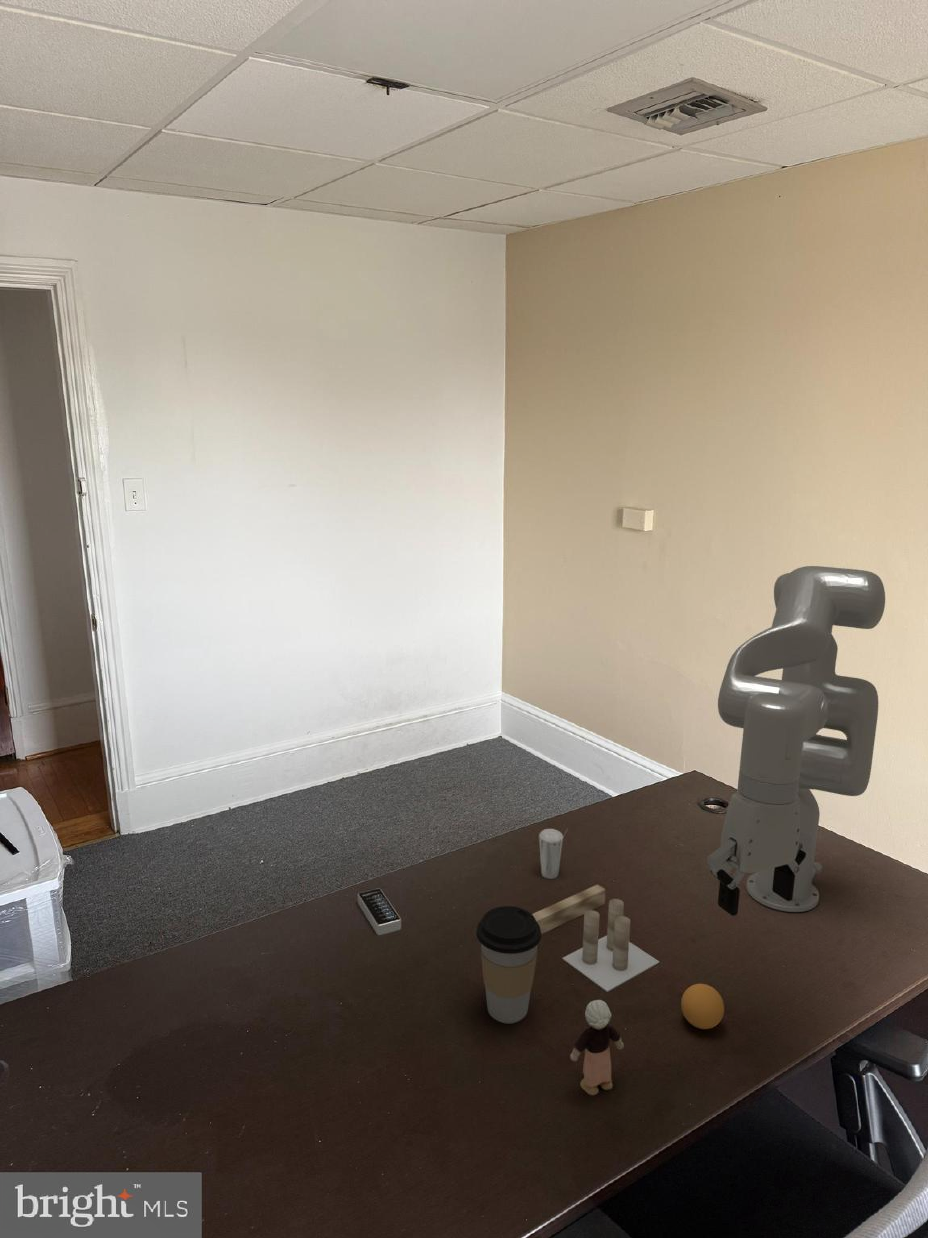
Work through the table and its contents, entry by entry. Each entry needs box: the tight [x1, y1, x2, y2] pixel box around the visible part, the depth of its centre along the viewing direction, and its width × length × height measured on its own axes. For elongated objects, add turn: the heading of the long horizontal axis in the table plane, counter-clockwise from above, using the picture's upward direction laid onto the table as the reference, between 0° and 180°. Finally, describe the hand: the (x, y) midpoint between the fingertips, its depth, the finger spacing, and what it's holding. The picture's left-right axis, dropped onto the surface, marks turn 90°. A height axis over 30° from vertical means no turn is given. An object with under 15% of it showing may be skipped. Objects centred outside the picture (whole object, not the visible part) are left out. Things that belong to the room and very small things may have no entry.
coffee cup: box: [475, 905, 542, 1025], centre depth 126 cm, size 9×9×15 cm
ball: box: [680, 983, 725, 1030], centre depth 124 cm, size 6×6×6 cm
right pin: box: [606, 898, 625, 952], centre depth 141 cm, size 2×2×8 cm
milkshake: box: [538, 828, 568, 880], centre depth 163 cm, size 4×5×10 cm
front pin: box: [612, 915, 631, 971], centre depth 136 cm, size 2×2×8 cm
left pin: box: [582, 910, 600, 965], centre depth 138 cm, size 2×2×8 cm
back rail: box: [531, 884, 606, 935], centre depth 149 cm, size 22×2×3 cm, turn 127°
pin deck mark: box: [562, 935, 660, 993], centre depth 139 cm, size 12×10×1 cm
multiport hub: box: [357, 888, 402, 936], centre depth 151 cm, size 4×11×2 cm, turn 25°
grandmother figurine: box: [569, 999, 625, 1096], centre depth 112 cm, size 8×4×13 cm, turn 123°
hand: (755, 903), depth 117 cm, fingers open, 9 cm apart
